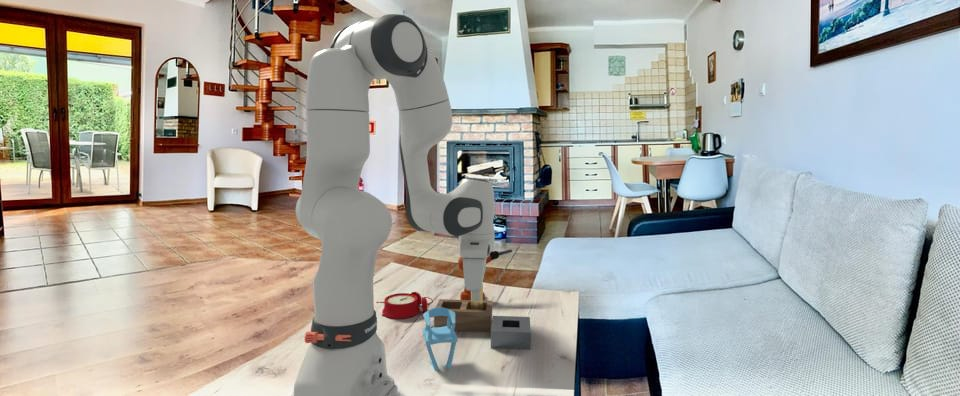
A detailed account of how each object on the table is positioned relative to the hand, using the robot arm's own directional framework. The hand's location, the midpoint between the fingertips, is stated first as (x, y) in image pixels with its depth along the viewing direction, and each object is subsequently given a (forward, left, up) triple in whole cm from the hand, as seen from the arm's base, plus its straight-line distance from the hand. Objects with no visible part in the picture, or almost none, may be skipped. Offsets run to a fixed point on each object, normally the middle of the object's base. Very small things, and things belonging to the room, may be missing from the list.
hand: (476, 296), depth 113 cm
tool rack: (0, +3, -9) cm, 9 cm away
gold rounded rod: (0, 0, -7) cm, 7 cm away
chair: (-19, +6, -9) cm, 22 cm away
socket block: (-8, -9, -9) cm, 15 cm away
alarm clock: (+10, +21, -9) cm, 25 cm away
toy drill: (+24, -1, -9) cm, 26 cm away
